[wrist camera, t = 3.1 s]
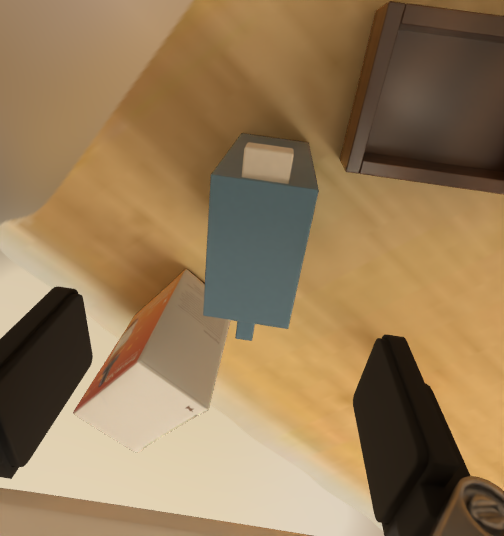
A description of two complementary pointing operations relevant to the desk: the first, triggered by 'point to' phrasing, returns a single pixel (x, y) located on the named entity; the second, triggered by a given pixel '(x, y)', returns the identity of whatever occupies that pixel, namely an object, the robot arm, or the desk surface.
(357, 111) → the holder
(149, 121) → the desk surface
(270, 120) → the desk surface
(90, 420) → the small box
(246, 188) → the blue box with handle
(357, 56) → the desk surface
